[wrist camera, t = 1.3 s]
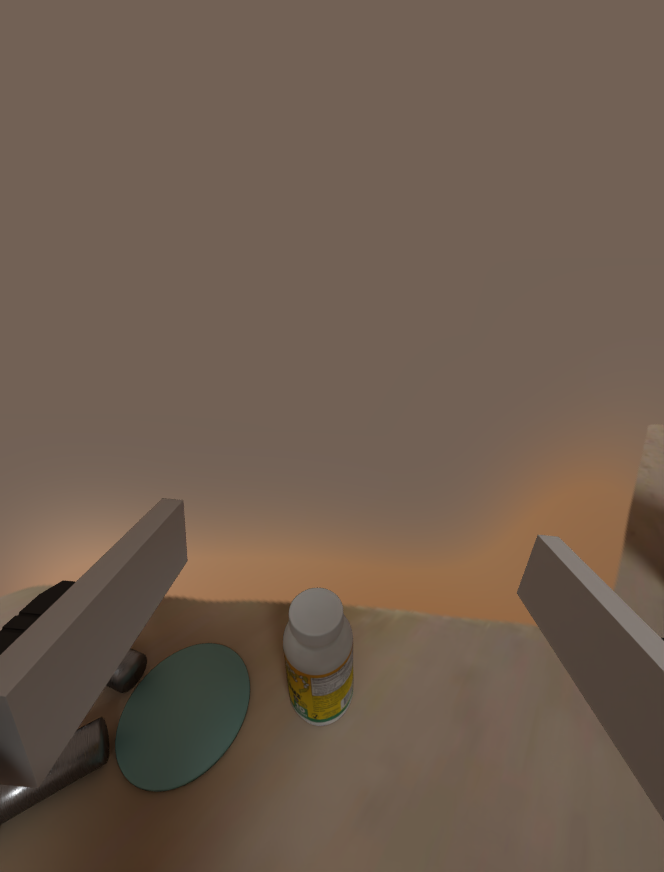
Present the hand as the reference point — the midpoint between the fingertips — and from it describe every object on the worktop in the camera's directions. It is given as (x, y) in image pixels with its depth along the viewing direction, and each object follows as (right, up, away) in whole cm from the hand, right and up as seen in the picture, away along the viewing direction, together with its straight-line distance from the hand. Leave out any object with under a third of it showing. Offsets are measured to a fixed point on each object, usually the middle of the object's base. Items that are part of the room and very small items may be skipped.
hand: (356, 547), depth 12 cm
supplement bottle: (-2, -17, +15) cm, 23 cm away
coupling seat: (-13, -18, +14) cm, 26 cm away
